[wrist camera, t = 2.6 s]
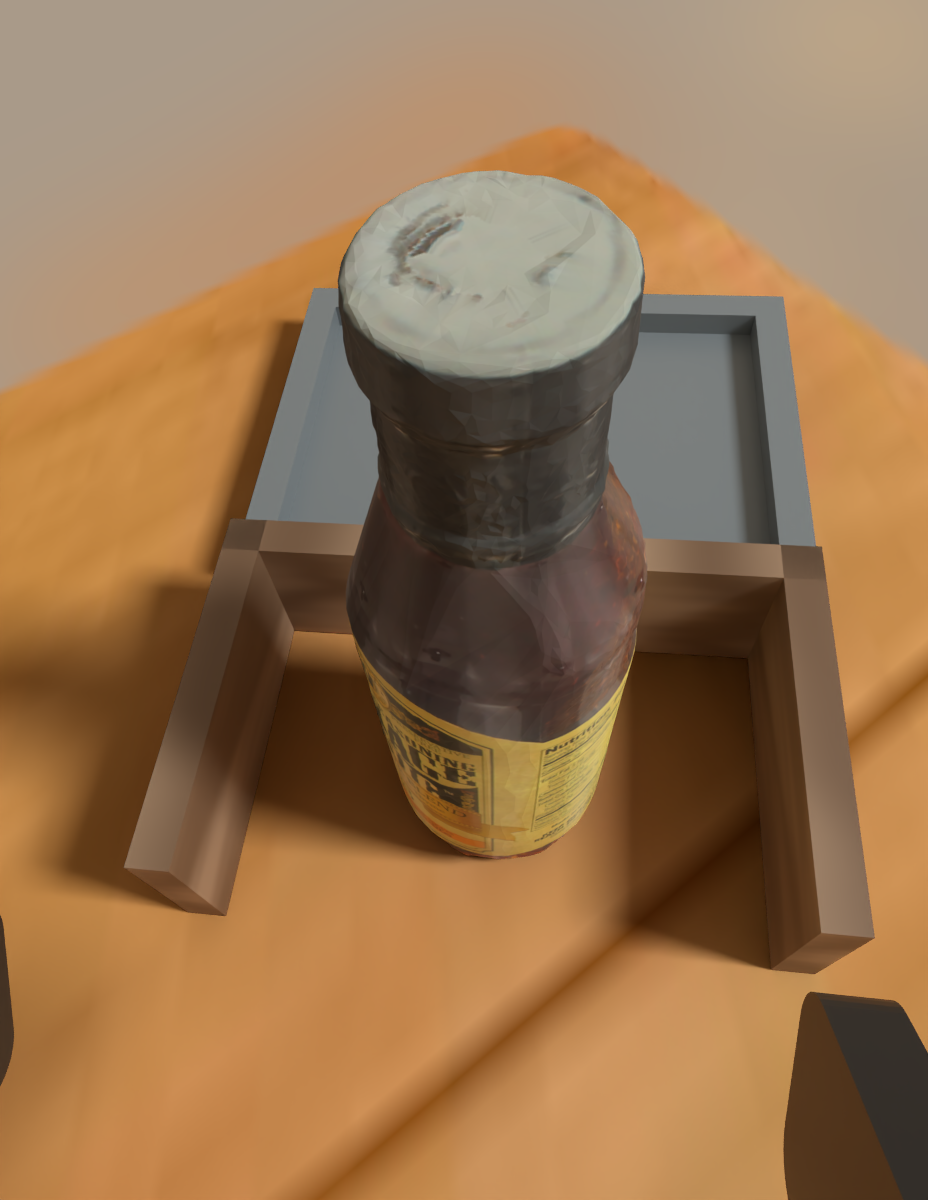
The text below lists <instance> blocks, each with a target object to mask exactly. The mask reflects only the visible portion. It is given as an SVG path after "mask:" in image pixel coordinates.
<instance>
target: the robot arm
mask: <svg viewBox="0 0 928 1200" xmlns="http://www.w3.org/2000/svg"><path fill="white" fill-rule="evenodd" d="M13 1042H14V1028H13V1018H12V1008H11V998H10V988H9V978H8V968H7V958H6V948H5V937H4V928H3V922H2V918H1V916H0V1086H1V1084H2V1082H3V1079H4V1077H5V1074H6V1072H7V1069H8V1066H9V1063H10V1059H11V1055H12V1050H13ZM784 1170H785V1180H786V1188H787V1195H788V1200H928V1053H927V1051H926V1049H925V1047H924V1045H923V1043H922V1042H921V1040H920V1038H919V1036H918V1034H917V1032H916V1031H915V1029H914V1027H913V1025H912V1023H911V1021H910V1020H909V1018H908V1016H907V1014H906V1012H905V1011H904V1009H903V1008H902V1007H901V1005H900V1004H899V1003H897V1002H896V1001H893V1000H884V999H874V998H864V997H855V996H845V995H835V994H826V993H816V992H810V993H808V994H807V995H806V997H805V999H804V1002H803V1005H802V1009H801V1015H800V1022H799V1029H798V1036H797V1043H796V1050H795V1057H794V1064H793V1072H792V1079H791V1086H790V1093H789V1100H788V1107H787V1114H786V1121H785V1130H784Z"/></svg>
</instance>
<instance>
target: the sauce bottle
mask: <svg viewBox="0 0 928 1200" xmlns="http://www.w3.org/2000/svg"><path fill="white" fill-rule="evenodd" d="M644 282H645V272H644V264H643V258H642V255H641V252H640V249H639V245H638V241H637V239H636V238H635V236H634V234H633V233H632V231H631V230H630V229H629V228H628V227H627V226H626V225H625V224H624V223H623V222H622V221H621V220H620V219H619V218H618V217H617V216H616V215H615V214H614V213H613V212H612V211H611V210H610V209H609V208H608V207H607V206H606V205H605V204H604V203H603V202H602V201H601V200H600V199H599V198H598V197H597V196H595V195H593V194H591V193H589V192H587V191H585V190H583V189H581V188H579V187H577V186H574V185H572V184H569V183H567V182H564V181H561V180H558V179H555V178H551V177H546V176H527V175H522V174H517V173H512V172H506V171H476V172H468V173H461V174H457V175H453V176H449V177H445V178H440V179H437V180H433V181H430V182H427V183H423V184H420V185H418V186H417V187H414V188H412V189H410V190H408V191H406V192H404V193H402V194H400V195H398V196H397V197H395V198H394V199H392V200H391V201H389V202H388V203H386V204H385V205H383V206H381V207H379V208H378V209H377V210H376V211H375V212H374V213H373V214H372V215H371V216H370V217H369V218H368V220H367V221H366V222H365V223H364V225H363V226H362V227H361V228H360V229H359V231H358V232H357V233H356V234H355V236H354V238H353V240H352V242H351V244H350V246H349V247H348V249H347V251H346V253H345V255H344V257H343V260H342V262H341V266H340V271H339V277H338V307H339V312H340V316H341V322H342V329H343V342H344V347H345V353H346V357H347V361H348V364H349V367H350V369H351V371H352V374H353V376H354V378H355V380H356V382H357V384H358V386H359V388H360V389H361V391H362V392H363V393H364V395H365V396H366V397H367V398H368V399H369V400H370V412H371V417H372V425H373V427H374V429H375V431H376V436H377V446H378V450H379V454H378V475H379V478H378V481H377V484H376V487H375V490H374V494H373V497H372V500H371V503H370V506H369V510H368V513H367V516H366V519H365V523H364V526H363V529H362V532H361V536H360V539H359V542H358V545H357V549H356V552H355V555H354V558H353V561H352V565H351V568H350V571H349V575H348V579H347V585H346V610H347V615H348V619H349V624H350V627H351V630H352V634H353V637H354V640H355V644H356V648H357V651H358V654H359V657H360V659H361V662H362V665H363V669H364V671H365V674H366V676H367V679H368V683H369V686H370V691H371V695H372V698H373V701H374V704H375V707H376V709H377V714H378V716H379V718H380V722H381V725H382V729H383V733H384V735H385V736H386V739H387V742H388V745H389V748H390V751H391V754H392V757H393V760H394V763H395V766H396V769H397V772H398V775H399V778H400V781H401V784H402V787H403V789H404V792H405V794H406V797H407V799H408V801H409V803H410V805H411V806H412V808H413V810H414V812H415V813H416V815H417V816H418V817H419V818H420V819H421V820H422V822H423V823H424V824H425V825H426V826H427V827H428V828H429V829H430V830H431V831H432V832H433V833H435V834H436V835H437V836H439V837H440V838H442V839H443V840H445V841H446V842H447V843H448V844H450V845H451V846H452V847H453V848H454V849H456V850H457V851H459V852H461V853H463V854H465V855H467V856H469V855H474V856H480V857H486V858H495V859H505V858H517V857H525V856H530V855H534V854H537V853H541V852H542V851H544V850H545V849H547V848H548V847H549V846H550V845H552V844H553V843H555V842H556V841H557V840H558V839H559V838H561V837H563V836H564V834H565V833H566V832H567V831H568V830H570V829H571V828H572V827H573V826H575V825H576V824H577V823H578V821H579V820H580V818H581V817H582V815H583V814H584V812H585V810H586V809H587V807H588V805H589V803H590V801H591V799H592V797H593V795H594V792H595V789H596V786H597V783H598V779H599V776H600V772H601V769H602V765H603V762H604V759H605V755H606V752H607V747H608V744H609V740H610V736H611V733H612V729H613V725H614V722H615V718H616V715H617V711H618V707H619V704H620V700H621V697H622V693H623V689H624V686H625V683H626V679H627V676H628V673H629V670H630V666H631V662H632V658H633V655H634V650H635V644H636V633H637V625H638V621H639V617H640V614H641V610H642V607H643V603H644V596H645V588H646V581H647V568H648V567H647V557H646V550H645V545H646V542H645V540H644V538H643V533H642V528H641V525H640V521H639V518H638V516H637V513H636V511H635V509H634V507H633V505H632V501H631V497H630V496H629V494H628V493H627V491H626V490H625V489H624V487H623V486H622V484H621V482H620V480H619V479H618V477H617V475H616V473H615V471H614V467H613V465H612V464H611V462H610V461H609V455H608V448H609V440H608V431H609V425H610V419H611V412H612V403H613V395H614V392H615V391H616V389H617V388H618V387H619V385H620V384H621V382H622V381H623V379H624V378H625V376H626V375H627V373H628V372H629V370H630V368H631V365H632V361H633V358H634V354H635V351H636V348H637V345H638V337H639V328H640V318H641V309H642V300H643V290H644Z"/></svg>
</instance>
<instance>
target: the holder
mask: <svg viewBox="0 0 928 1200" xmlns="http://www.w3.org/2000/svg"><path fill="white" fill-rule="evenodd" d="M363 526H364V525H358V524H337V523H316V522H295V521H274V520H253V519H232V518H231V519H230V523H229V526H228V529H227V532H226V536H225V539H224V542H223V545H222V549H221V552H220V555H219V558H218V562H217V565H216V568H215V571H214V575H213V578H212V581H211V585H210V588H209V591H208V594H207V598H206V601H205V604H204V607H203V611H202V614H201V617H200V620H199V624H198V627H197V630H196V633H195V637H194V640H193V643H192V647H191V650H190V653H189V656H188V660H187V663H186V666H185V669H184V673H183V676H182V679H181V682H180V686H179V689H178V692H177V695H176V699H175V702H174V705H173V708H172V712H171V715H170V718H169V722H168V725H167V728H166V731H165V735H164V738H163V741H162V744H161V748H160V751H159V754H158V757H157V761H156V764H155V767H154V770H153V774H152V777H151V780H150V783H149V787H148V790H147V793H146V797H145V800H144V803H143V806H142V810H141V813H140V816H139V819H138V823H137V826H136V829H135V832H134V836H133V839H132V842H131V845H130V849H129V852H128V855H127V859H126V862H125V865H124V868H125V869H126V870H128V871H129V872H131V873H132V874H134V875H135V876H137V877H138V878H139V879H141V880H142V881H144V882H145V883H147V884H148V885H150V886H151V887H152V888H154V889H155V890H157V891H158V892H160V893H161V894H163V895H164V896H165V897H167V898H168V899H170V900H171V901H173V902H174V903H175V904H177V905H178V906H180V907H181V908H183V909H184V910H186V911H187V912H191V913H201V914H211V915H221V916H226V914H227V910H228V906H229V902H230V897H231V893H232V889H233V885H234V881H235V876H236V872H237V868H238V864H239V860H240V856H241V851H242V847H243V843H244V839H245V835H246V830H247V826H248V822H249V818H250V814H251V809H252V805H253V801H254V797H255V793H256V788H257V784H258V780H259V776H260V772H261V768H262V763H263V759H264V755H265V751H266V747H267V742H268V738H269V734H270V730H271V726H272V721H273V717H274V713H275V709H276V705H277V700H278V696H279V692H280V688H281V684H282V680H283V675H284V671H285V667H286V663H287V659H288V654H289V650H290V646H291V642H292V638H293V633H294V630H296V631H312V632H328V633H345V634H352V630H351V627H350V624H349V619H348V615H347V610H346V585H347V579H348V575H349V571H350V568H351V565H352V561H353V558H354V555H355V552H356V549H357V545H358V542H359V539H360V536H361V532H362V529H363ZM644 540H645V542H646V545H645V550H646V557H647V567H648V568H647V581H646V588H645V596H644V603H643V607H642V610H641V614H640V617H639V621H638V625H637V633H636V644H635V650H634V651H637V652H653V653H669V654H685V655H702V656H718V657H734V658H748V669H749V682H750V696H751V709H752V723H753V736H754V749H755V763H756V776H757V790H758V803H759V816H760V830H761V843H762V857H763V870H764V883H765V897H766V910H767V924H768V937H769V950H770V964H771V970H779V971H789V972H799V973H809V974H816V973H817V972H819V971H821V970H822V969H824V968H826V967H827V966H829V965H831V964H832V963H834V962H836V961H837V960H839V959H841V958H842V957H844V956H846V955H847V954H849V953H851V952H852V951H854V950H856V949H857V948H859V947H861V946H862V945H864V944H866V943H867V942H869V941H870V940H872V939H874V938H875V937H874V929H873V922H872V914H871V907H870V900H869V892H868V885H867V877H866V870H865V863H864V855H863V848H862V841H861V833H860V826H859V818H858V811H857V804H856V796H855V789H854V781H853V774H852V767H851V759H850V752H849V744H848V737H847V730H846V722H845V715H844V708H843V700H842V693H841V685H840V678H839V671H838V663H837V656H836V648H835V641H834V634H833V626H832V619H831V611H830V604H829V597H828V589H827V582H826V575H825V567H824V560H823V552H822V547H818V546H797V545H776V544H755V543H734V542H713V541H692V540H671V539H651V538H644Z"/></svg>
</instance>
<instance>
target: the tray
mask: <svg viewBox="0 0 928 1200" xmlns="http://www.w3.org/2000/svg"><path fill="white" fill-rule="evenodd" d="M608 440H609V448H608V455H609V461H610V462H611V464H612V465H613V467H614V471H615V473H616V475H617V477H618V479H619V480H620V482H621V484H622V486H623V487H624V489H625V490H626V491H627V493H628V494H629V496H630V497H631V501H632V505H633V507H634V509H635V511H636V513H637V516H638V518H639V521H640V525H641V528H642V533H643V538H651V539H671V540H692V541H713V542H734V543H755V544H776V545H797V546H816V543H815V536H814V528H813V520H812V513H811V505H810V497H809V490H808V482H807V475H806V467H805V459H804V452H803V444H802V436H801V429H800V421H799V414H798V406H797V398H796V391H795V383H794V375H793V368H792V360H791V352H790V345H789V337H788V330H787V322H786V314H785V307H784V299H783V297H771V296H716V295H661V294H643V300H642V309H641V318H640V328H639V337H638V345H637V348H636V351H635V354H634V358H633V361H632V365H631V368H630V370H629V372H628V373H627V375H626V376H625V378H624V379H623V381H622V382H621V384H620V385H619V387H618V388H617V389H616V391H615V392H614V395H613V403H612V412H611V419H610V425H609V431H608ZM378 454H379V450H378V446H377V436H376V431H375V429H374V427H373V425H372V417H371V412H370V400H369V399H368V398H367V397H366V396H365V395H364V393H363V392H362V391H361V389H360V388H359V386H358V384H357V382H356V380H355V378H354V376H353V374H352V371H351V369H350V367H349V364H348V361H347V357H346V353H345V347H344V342H343V329H342V322H341V316H340V312H339V307H338V289H332V288H314V289H313V292H312V296H311V299H310V303H309V306H308V309H307V313H306V316H305V320H304V323H303V326H302V330H301V333H300V337H299V340H298V343H297V347H296V350H295V353H294V357H293V360H292V364H291V367H290V370H289V374H288V377H287V381H286V384H285V387H284V391H283V394H282V397H281V401H280V404H279V408H278V411H277V414H276V418H275V421H274V425H273V428H272V431H271V435H270V438H269V441H268V445H267V448H266V452H265V455H264V458H263V462H262V465H261V469H260V472H259V475H258V479H257V482H256V486H255V489H254V492H253V496H252V499H251V502H250V506H249V509H248V513H247V516H246V519H253V520H274V521H295V522H316V523H337V524H358V525H364V523H365V519H366V516H367V513H368V510H369V506H370V503H371V500H372V497H373V494H374V490H375V487H376V484H377V481H378V478H379V475H378Z"/></svg>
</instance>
